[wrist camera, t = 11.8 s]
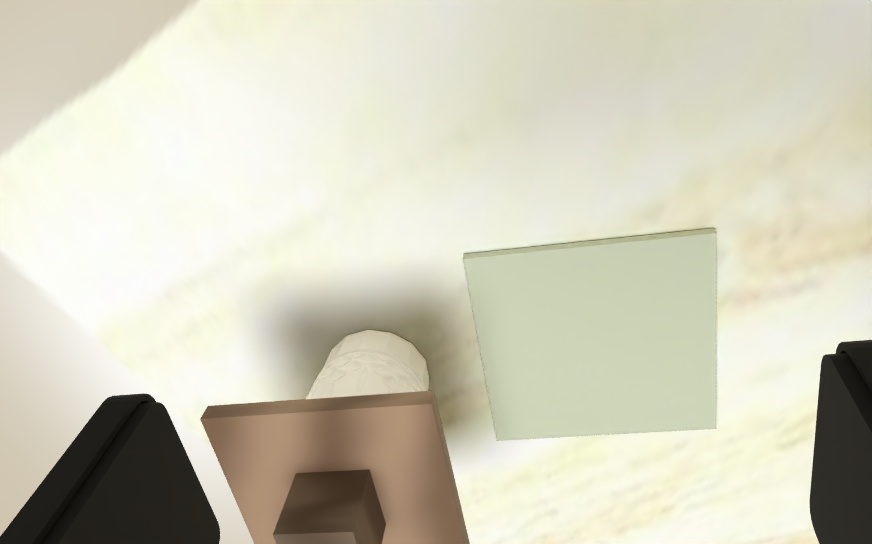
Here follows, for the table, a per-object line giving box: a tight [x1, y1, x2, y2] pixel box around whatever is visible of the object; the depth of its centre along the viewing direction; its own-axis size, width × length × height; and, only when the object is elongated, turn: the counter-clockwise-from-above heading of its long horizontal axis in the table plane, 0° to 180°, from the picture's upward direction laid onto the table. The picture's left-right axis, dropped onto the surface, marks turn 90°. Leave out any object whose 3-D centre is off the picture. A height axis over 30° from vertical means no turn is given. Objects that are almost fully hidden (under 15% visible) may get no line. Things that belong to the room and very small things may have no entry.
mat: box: [463, 228, 716, 441], centre depth 46 cm, size 14×14×1 cm
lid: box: [201, 391, 470, 544], centre depth 38 cm, size 12×12×5 cm
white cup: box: [306, 330, 429, 399], centre depth 45 cm, size 8×8×10 cm
